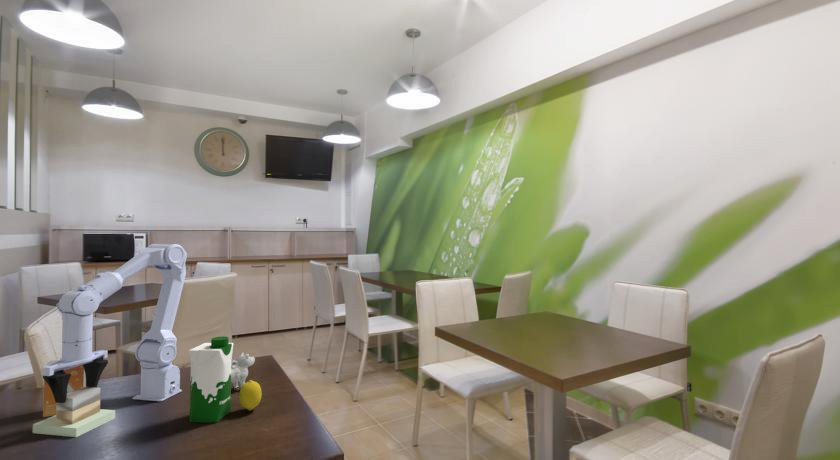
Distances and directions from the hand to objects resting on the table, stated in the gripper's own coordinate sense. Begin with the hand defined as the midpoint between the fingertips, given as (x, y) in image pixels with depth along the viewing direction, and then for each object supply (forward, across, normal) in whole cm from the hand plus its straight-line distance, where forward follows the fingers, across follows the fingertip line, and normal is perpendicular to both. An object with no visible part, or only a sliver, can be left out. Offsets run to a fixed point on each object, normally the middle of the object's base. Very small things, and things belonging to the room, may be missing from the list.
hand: (76, 396), depth 100 cm
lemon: (+7, -15, +37) cm, 41 cm away
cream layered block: (+5, 0, +1) cm, 5 cm away
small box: (+7, -7, -11) cm, 15 cm away
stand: (+7, 0, 0) cm, 7 cm away
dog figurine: (+8, -27, +24) cm, 37 cm away
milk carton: (+7, -10, +29) cm, 32 cm away
